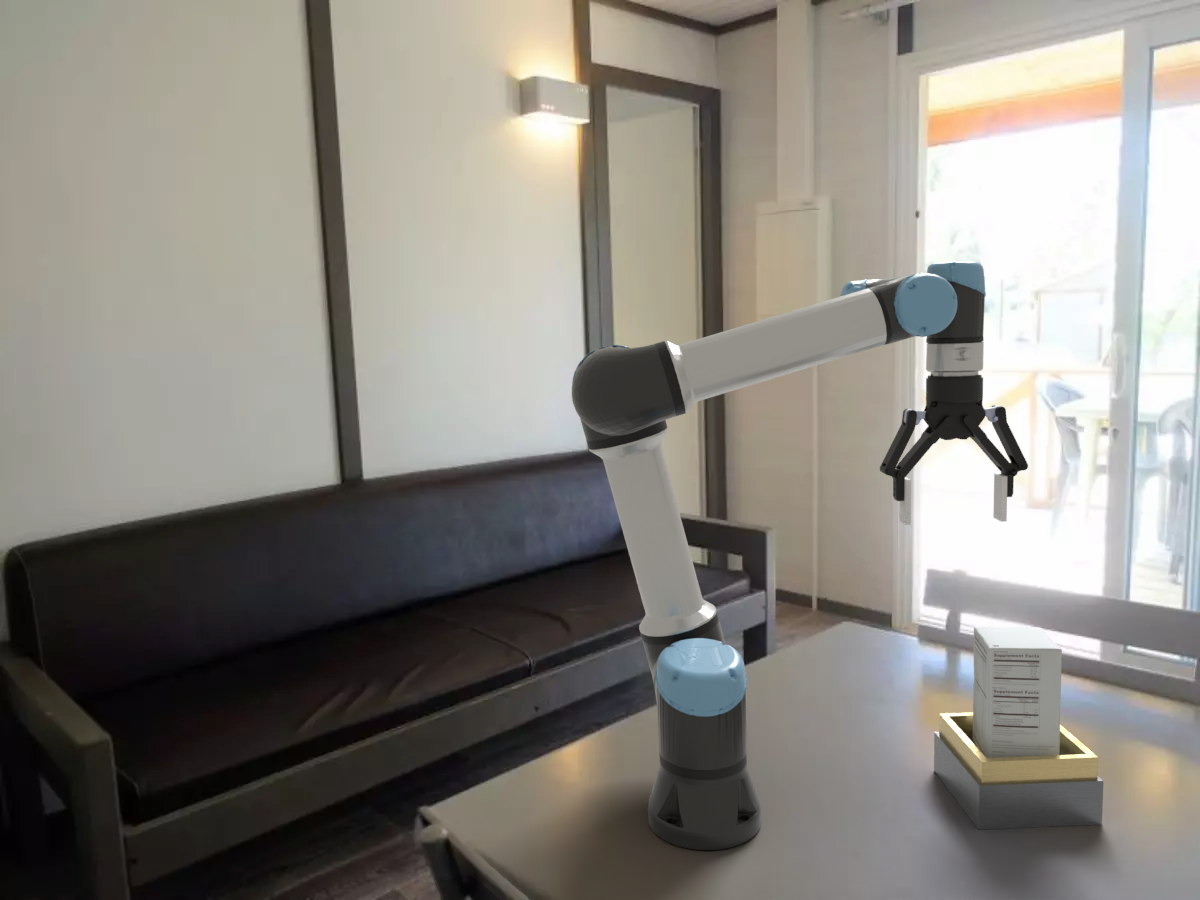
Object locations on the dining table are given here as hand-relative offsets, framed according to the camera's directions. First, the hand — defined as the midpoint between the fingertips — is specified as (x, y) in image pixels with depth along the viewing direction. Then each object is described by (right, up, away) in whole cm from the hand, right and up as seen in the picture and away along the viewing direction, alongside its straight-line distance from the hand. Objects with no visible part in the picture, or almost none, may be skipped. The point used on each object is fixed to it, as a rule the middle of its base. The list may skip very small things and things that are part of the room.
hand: (952, 521), depth 135 cm
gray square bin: (+6, -38, -5) cm, 38 cm away
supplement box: (+6, -32, -6) cm, 33 cm away
